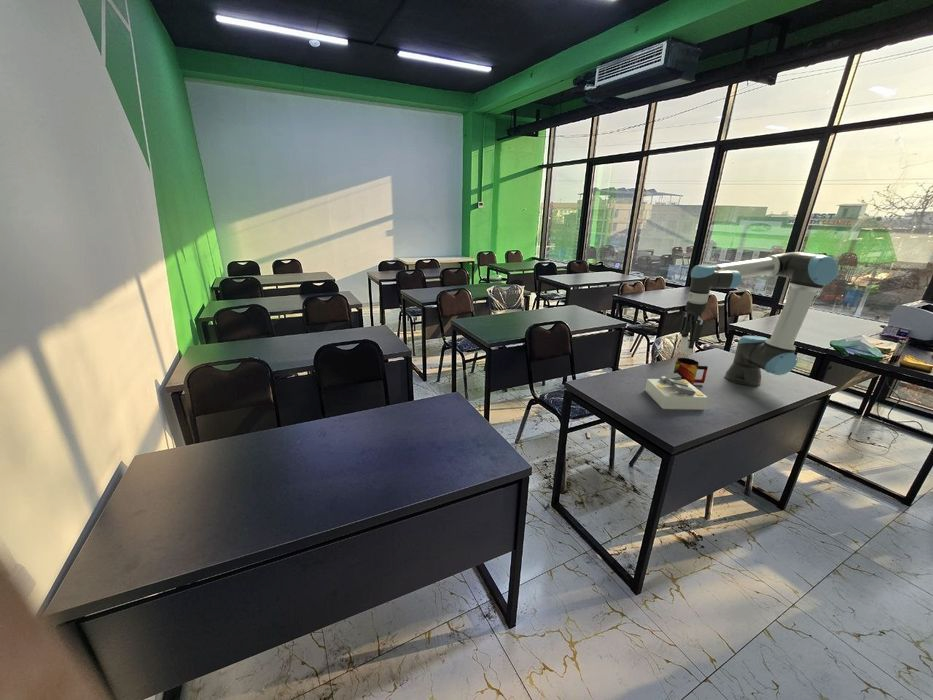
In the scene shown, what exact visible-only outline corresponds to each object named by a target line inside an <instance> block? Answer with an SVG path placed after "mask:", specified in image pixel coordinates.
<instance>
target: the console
mask: <svg viewBox="0 0 933 700" xmlns="http://www.w3.org/2000/svg"><path fill="white" fill-rule="evenodd" d="M678 381H682V382H684V383H686V384H687V385H688V387H690V388H692V389H693V390H694V391H695V392H696V393H695V395H690V394H685V393H681V392H677V391H676V390H675V389H674V388H672V387H673V386H671V385H669V384H668V383H663V382H662V381H661V380H660V378H647V379H646V385H645V392H646V394H648V395H649V397H651V399H653V400H654V402H656V404H658V406H659V407H661V408H662V410H703V411H704V410H705V408H706V404H707V401H708V396H707V395H705V394H704V393H703V392H702V391H700V390H699V389H698V388H697V387H695V386H694V385H692V384H690V383H689V382H688V381H687V380H685V379H681V380H678Z"/></svg>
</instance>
